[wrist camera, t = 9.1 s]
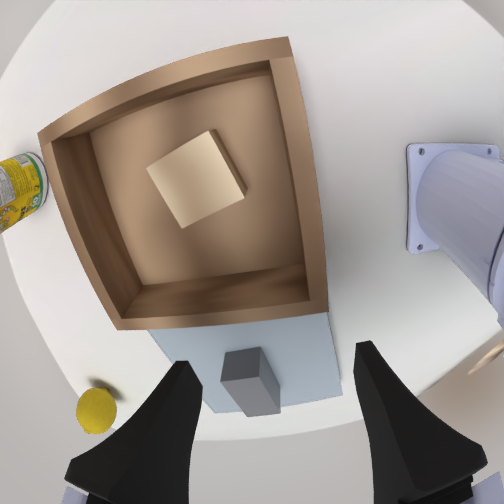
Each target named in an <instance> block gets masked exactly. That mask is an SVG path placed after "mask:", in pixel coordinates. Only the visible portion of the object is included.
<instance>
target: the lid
mask: <svg viewBox="0 0 504 504" xmlns="http://www.w3.org/2000/svg"><path fill="white" fill-rule="evenodd" d="M147 331H148V332H149V334H150V335H151V336H152V338H153V339H154V340H155V342H156V343H157V344H158V346H159V347H160V348H161V350H162V351H163V352H164V354H165V355H166V356H167V358H168V359H169V360H170V361H171V363H172V364H174V363H175V361H186V360H188V361H189V363H190V365H191V366H192V368H193V370H194V372H195V373H196V375H197V377H198V379H199V380H200V382H201V384H202V385H203V393H202V400H203V401H204V402H205V403H206V404H207V405H208V406H209V407H210V408H211V409H212V411H213V412H214V413H228V412H242V411H243V412H244V413H245V415H246V416H247V417H253V416H263V415H272V414H279V413H280V407H284V406H291V405H297V404H302V403H308V402H313V401H318V400H323V399H328V398H332V397H336V396H341V395H343V393H342V388H341V382H340V376H339V371H338V365H337V360H336V355H335V350H334V345H333V340H332V335H331V330H330V325H329V321H328V316H327V312H325V313H318V314H312V315H305V316H298V317H291V318H283V319H275V320H267V321H259V322H249V323H240V324H229V325H218V326H205V327H191V328H174V329H151V330H147Z"/></svg>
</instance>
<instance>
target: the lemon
mask: <svg viewBox="0 0 504 504" xmlns="http://www.w3.org/2000/svg"><path fill="white" fill-rule="evenodd" d="M116 413H117V407H116V403H115V401H114V399H113V397H112V396H111V395H110V394H109V391H108V389H106V388H103V389H99V388H92V389H89V390H87V391H86V392H84V393H83V395H82V396H81V397H80V399H79V401H78V404H77V409H76V415H77V419H78V422H79V423H80V425H81V426H82V427H83V428H84V431H85V432H86V433H88V434H90V433H93V434H101V433H104V432H106V431H107V430H108V429H109V428H110V427H111V426H112V424H113V422H114V420H115V418H116Z"/></svg>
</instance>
